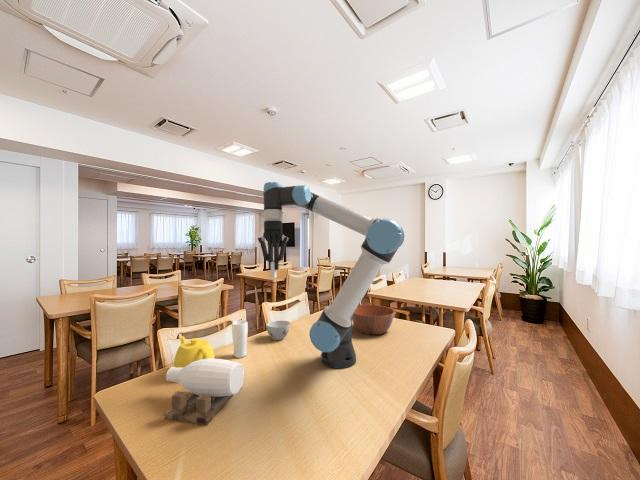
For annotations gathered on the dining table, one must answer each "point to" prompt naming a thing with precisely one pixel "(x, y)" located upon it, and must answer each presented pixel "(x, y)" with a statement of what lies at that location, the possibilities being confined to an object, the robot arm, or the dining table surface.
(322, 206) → the robot arm
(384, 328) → the bowl
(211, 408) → the cradle
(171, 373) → the bottle
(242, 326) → the white pillar candle
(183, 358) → the teapot
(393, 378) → the dining table surface
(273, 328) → the teacup
